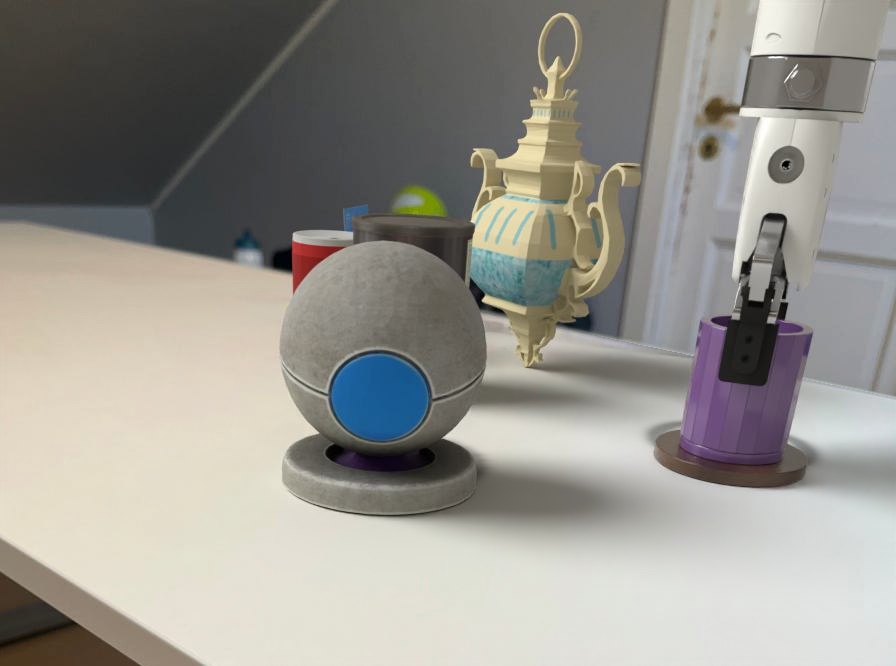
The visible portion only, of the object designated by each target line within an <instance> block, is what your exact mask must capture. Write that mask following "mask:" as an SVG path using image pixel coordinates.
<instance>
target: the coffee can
mask: <svg viewBox="0 0 896 666" xmlns="http://www.w3.org/2000/svg"><path fill="white" fill-rule="evenodd" d="M351 221H352V227H353V245H356V244H360V243H364V242H371V241H393V242H401V243H405V244H410V245H414V246H416V247H418V248H421V249H423V250H425V251H427V252H429V253H431V254H433V255H435V256H437V257H438V258H439V259H441V260H442V261H444V262H445V263H446V264H448V265H449V266H450V267H451V268H452V269H453V270H454V271H455V272H456V273H457V274H458V275H459V276H460V277H461V279H462V280H463V281H464V282H465V284H466V285H467V287H468V288H469V289H470V282H471V277H470V268H471V255H472V241H473V234H474V232H475V224H474V223H472V222H470V221H471V220H467V219H462V218H457V217H448V216H441V215H431V214H430V215H429V214H417V213H415V214H414V213H397V212H395V213H394V212H371V213H369V212H368V214H358V215H355V216H353V217H352V219H351Z"/></svg>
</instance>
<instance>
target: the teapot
mask: <svg viewBox="0 0 896 666" xmlns="http://www.w3.org/2000/svg"><path fill="white" fill-rule="evenodd" d="M563 17H564V18H566V19H567V20H568V21H569V22H570V24H571V26H572V27H573V30H574V35H575V48H574V52H573V56H572V59H571V61H570V64H569V66H568V67H567V68H565V66H564V64H563V61H562V58H561V56H556V58H555V59H554V61H553V63H552V65H550V67H549V68H548V66H547V64H546V63H547V62H546V58H545V47H546V41H547V37H548V35H549V32H550V30H551V28H552V27H553V26H554V25H555V23H556V22H557V21H559V20H560V19H561V18H563ZM582 32H583V31H582V28H581V25H580V23H579V21H578V19H577V18H576V16H574V15H573V14H570V13H568V12H558V13H557V14H555V15H553V16H551V17H550V19H548V21H547V22H546V23H545V25H544V27H543V29H542V31H541V34H540V37H539V40H538V48H537V55H538V64H539V67H540V70H541V72H542V74H543V75H544V77H546V78H547V90H546V91H545V89H544V88H540V89H539V87H537V86H533V89H532V91H533V92H534V94H535V95H536V99H530V100H529V102H530V107H531V108H532V115H531V117H530V118H528V119H523V120H522V124H524V125H525V128H526V135H525V137H523V138H519V139H517V144H518V149H517V150H516V152H515V153H513V154H512V155H510V156H508V157H505V158H499V156H498V155H497V153H496V151H495V150H493V148H484V147H483V148H482V147H481V148H476V147H475V148H473V149H472V150H473V151H474V152H473V153H472V154H471V157H470V166H471V168H478V169H481V168H483V181H482V184H481V188H480V191H479V193H478V196H477V198H476V201H475V204H474V207H473V209H472V212H471V220H469V221H470V222H472V223H474V224H475V232H474V234H473V241H472V255H471V268H470V280H472V281H473V283H475V284H476V286H477V287H478V288H479V289H480V290H481V291H482V292H483V294H484V297H483V298H482V299H481V302H482V303H483V304H486V305H488V306H491V307H493V308H497V309H500V310H502V311H503V313H505V315H506V317H507V318H508V320H509V327H510V328H511V331H512V333H513V335H514V337H515V339H516V340H517V342H518V343H519V344H518V345H516V348H515V350H514V354H515V355H517V356H518V357H519V359H520V361H521V363H522V364H523V366H524V367H525V368H530V367H533V366H535V365H536V364H537V363H542V362H543V361H544V359H543V357H544V353H542V352H541V351H540V350H541V349H542V348H544V347H546V346H547V345H548V344H549V343H550V342H551V341H552V340H553V339H554V338H555V337H556V333H557V323H558V322H559V323H562V324H563V323H566V324H567V323H575V322H577V320H576V318H583V317H587V316H588V315H590V309H589V305H588V304H587V302H585V301H586V300H588V299H589V298H592V297H594V296H597V295H599V294H600V293H602V292H603V291H604V290H605V289H607V288H608V286H609V285H610V283H611V282H612V281H613V280H614V278H615V276H616V274H617V272H618V269H619V267H620V265H621V263H622V261H623V257H624V256H623V255H624V253H625V245H626V236H625V231H624V230H625V229H624V224H623V220H622V217H621V216H622V215H621V212H620V207H619V206H620V205H619V193H620V192H619V191H620V186H621V187H628V188H630V187H631V188H632V187H640V186H641V182H642V171H641V170H640V168H638V167H641V166H642V165H641V164H640V163H635V162H617V163H615V164H614V165H612V166H611V167H610V168H609V169H608V171H606V173H605V174H604V176H603V178H602V180H601V182H600V185H599V190H598V197H597V201H594V202H590V203H589V204H588V203H587V201H586V199H588V198H589V197H590V196H591V195H592V193H593V191H594V189H595V183H596V181H595V176H596V175H597V176H598V175H599V174H601V173H602V166H601V165H597V164H593V163H591V162H589V161H587V160H586V158H584V157H583V156H582V152H581V148H582V147H583V146H584V145H583V144H584V143H583V142H582V141H579V140H578V139H576V134H577V133H576V132H577V130H578V129H579V128H580V127H581V126H583V123H582V122H579V121H576V120H575V118H574V113H575V110H577V107H578V105H579V104H580V101H576V100H573V99H574V97H575V96H576V95H577V94H578V93H579V89H576V88H575V89H570V88H569V89H567V90H566V91H565V93H564V86H565V82H566V79H567V78H568V77H570V76H571V75H572V73H573V72H574V71H575V69H576V67H577V65H578V63H579V61H580V59H581V53H582V50H583V33H582ZM502 172H503V173H502ZM502 180H503V184H504V186H505V187H504V186H501V184H502V183H501V182H502Z"/></svg>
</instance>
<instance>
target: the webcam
mask: <svg viewBox="0 0 896 666" xmlns="http://www.w3.org/2000/svg"><path fill="white" fill-rule="evenodd" d="M478 305H479V304H478V303H477V301H476V298H475V295H473V293H472V291H471V289H470V287H469V288H468V287H467V285H466V284H465V282H464V281H463V280H462V279H461V277H460V276H459V275H458V274H457V273H456V272H455V271H454V270H453V269H452V268H451V267H450V266H449V265H448V264H446V263H445V262H444V261H442V260H441V259H439V258H438V257H437V256H435V255H433V254H431V253H429V252H427V251H425V250H423V249H421V248H418V247H416V246H414V245H410V244H405V243H401V242H393V241H371V242H364V243H360V244H356V245H352V246H349V247H346V248H344V249H342V250H340V251H337V252H335V253H333V254H332V255H330V256H329V257H327V258H326V259H324V260H323V261H321V262H320V263H319V264H318V265H316V266H315V267H314V268H313V269H312V270H311V271H310V272H309V273H308V275H307V276H306V277H305V278H304V279H303V281H302V282H301V283H300V285H299V286H298V288H297V289H296V291H295V293H294V295H293V294H292V297H291V299H290V300H289V302H288V305H287V307H286V310H285V313H284V316H283V321H282V327H281V331H280V337H279V347H278V348H279V350H278V351H279V363H280V368H281V372H282V376H283V379H284V383H285V386H286V389H287V391H288V393H289V395H290V397H291V399H292V401H293V403H294V405H295V406H296V408H297V410H298V411H299V412H300V414H301V415H302V417H303V418H304V419H305V421H306V422H307V423H308V424H309V425H310V426H312V428H314V430H316V431H317V432H318V433H315V434H312V435H307V436H305V437H304V438H301V439H299V440H297V441H295V442H293V443H292V444H291V445H289V446H288V448H287V449H286V450H285V452H284V455H283V457H282V463H281V464H282V465H281V480H282V484H283V485H284V487H285V488H286V489H287V490H288V492H290V493H291V494H292V495H294V496H295V497H297V498H300V499H301V500H304V501H306V502H308V503H311V504H313V505H317V506H320V507H324V508H328V509H331V510H335V511H342V512H346V513H355V514H356V513H357V514H364V515H379V516H380V515H383V516H389V515H391V516H393V515H413V514H423V513H429V512H434V511H439V510H444V509H447V508H449V507H453V506H456V505H459V504H460V503H463V502H464V501H466V500H467V499H469V498H470V497H471V496H472V495H473V494H474V493H475V491H476V490H477V489H476V488H477V481H478V467H477V461H476V459H475V457H474V456H473V454H472V453H471V452H470V451H469V450H468V449H467V448H465V447H463V446H461V445H460V444H458V443H456V442H454V441H451V440H449V439H446V438H445V437H446V436H447V435H448V434H449V433H451V431H453V430H454V429H455V428H456V427H457V426H458V425H459V423H460V422H461V421H463V419H464V418H465V417H466V416H467V414H468V412H469V411H470V409H471V408H472V407H473V404H474V403H475V401H476V398H477V396H479V395H478V394H479V392H480V390H481V386H482V384H483V380H484V375H485V372H486V368H487V360H488V351H487V349H488V348H487V347H488V345H487V337H486V330H485V324H484V323H485V322H484V319H483V317H482V314H481V311H480V307H479V306H478Z"/></svg>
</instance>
